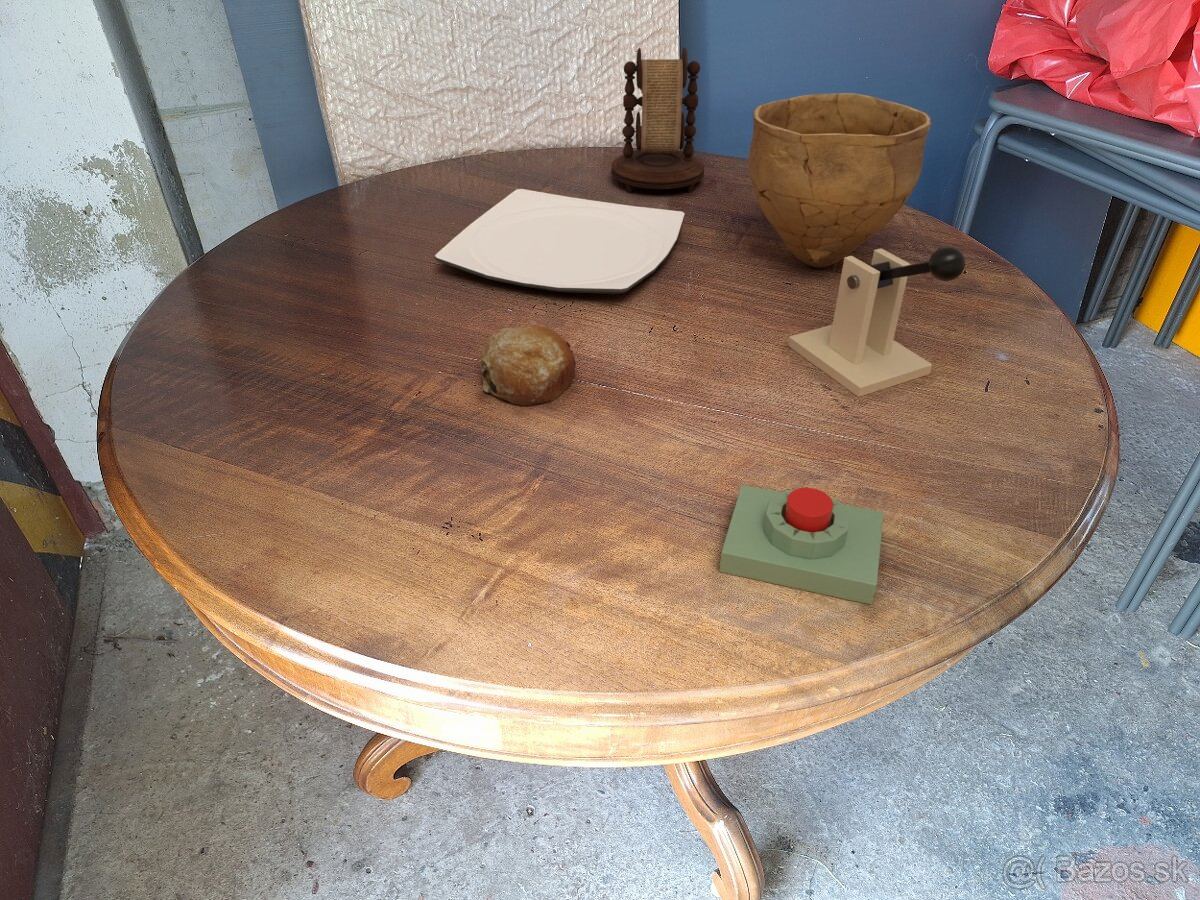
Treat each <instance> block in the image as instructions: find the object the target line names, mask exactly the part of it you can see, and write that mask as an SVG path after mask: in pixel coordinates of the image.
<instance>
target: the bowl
mask: <svg viewBox="0 0 1200 900" xmlns="http://www.w3.org/2000/svg"><path fill="white" fill-rule="evenodd" d="M752 113H753V116H752V122H753V131H752V138H751V142H750V146H749V150H748V158H747V165H748V171H749V172H748V173H749V176H750V181H751V185H752V187H753V191H754V193H755V196H756V199H757V202H758V204H759V206H760V208H761V211H762V213H763V214H764V217H765V218H766V219H767V221H768V223H769V224H770V225H771V226H772V227H773V229H774V230H775V231H776V233H777V234H778V236H779V237H780V239H781V241H782V242H783V244H784V246H785V247H786V248H787V249H788V250H789V252H790V253H792V255H793V256H794V257H795V258H796V259H798V260H799V261H800V262H801V263H803V264H804V265H807V266H810V267H812V268H820V269H822V268H826V267H829V266H832V265H834V264H836V263H838V262H840V261H842V260H844V258H845V257H848V256H849V255H850V254H851V253H853V252H854V251H855V250H856V249H857V248H859V247H860V246H861V244H863V243H865V242H866V241H867V240H868V239H870V238H871V237H873V236H874V235H875V234H876V233H877V232H878V231H880V230H882V229H883V228H885V226H886V225H888V223H889V222H890V221H892V219H893V218H894V217H895V216H896V215H897V213H898V212H899V211H900V210H901V209H902V208H903V206H904V204H905V203H906V202H907V200H908V199H909V198H910V197H911V195H912V193H913V192H914V190H915V188H916V186H917V184H918V181H919V179H920V178H921V177H920V176H921V174H922V170H923V164H924V152H925V148H926V147H925V146H926V142H927V137H928V133H929V131H930V129H931V126H932V121H931V120H932V118H931V117H930V116H929V115H928V114H927V113H926V112H924V111H922V110H920V109H917V108H914V107H912V106H909V105H905V104H902V103H898V102H894V101H890V100H886V99H882V98H878V97H875V96H871V95H868V94H867V95H865V94H860V93H853V92H852V93H851V92H840V93H836V92H835V93H834V92H833V93H817V94H816V93H813V94H805V95H804V94H803V95H798V96H794V97H790V98H786V99H780V100H774V101H770V102H767V103H763V104H760V105H759V106H757V107H755V108H754V110H753V112H752Z"/></svg>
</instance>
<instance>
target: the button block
mask: <svg viewBox="0 0 1200 900" xmlns="http://www.w3.org/2000/svg"><path fill="white" fill-rule="evenodd" d="M796 489H797V488H794V489H788V490H783V491H778V490H777V491H776V490H772V489H766V488H761V487H756V486H750V485H745V484H741V486H740V489H739V492H738V495H737V497H736V498H737V499H736V501H735V505H734V509H733V511H732V515H731V518H730V521H729V524H728V529H727V532H726V536H725V539H724V541H723V545H722V549H721V552H720V561H719V570H718V571H719V572H720V573H723V574H727V575H733V576H737V577H741V578H746V579H750V580H755V581H759V582H765V583H769V584H773V585H778V586H783V587H788V588H793V589H797V590H800V591H801V590H802V591H807V592H811V593H814V594H815V593H816V594H820V595H825V596H829V597H834V598H838V599H842V600H848V601H852V602H856V603H861V604H867V605H870V606H871V605H872V604H873V602H874V598H875V595H876V591H877V587H878V579H879V570H880V569H879V568H880V567H879V566H880V556H881V544H882V535H883V523H884V514H885V513H884V511H881V510H877V509H876V510H875V509H870V508H866V507H860V506H855V505H850V504H845V503H842V502H840V501H839V500H837V499H836V498H834V497H832V496H830V495H828V496H829V497H830V498H831V499H832V501H833V510H832V515H831V520H830V524H829V526H828V527H827V528H826V529H825V530H823V531H820V532H813V533H811V532H806V531H801V530H797V529H796V528H794V527H792V526H791V525H789V524H788V523H787V521H786V519H785V509H786V503H787V498H788V495H789V494H790V493H791V492H792V491H794V490H796Z"/></svg>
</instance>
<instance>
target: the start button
mask: <svg viewBox="0 0 1200 900" xmlns="http://www.w3.org/2000/svg"><path fill="white" fill-rule="evenodd" d="M795 489H796V490H794V489H793V490H794V491H792V492H791V493H790V494H789V495H788V498H787V503H786V509H785V519H786V521H787V523H788V524H789V525H791V526H792V527H794V528H796V529H797V530H801V531H806V532H811V533H813V532H820V531H823V530H825V529H826V528H827V527H828V526H829V524H830V520H831V515H832V510H833V501H832V499H831V498H830V497H831V496H830V495H828V493H826V492H825V491H823V490H820V489H817V488H813V487H799V488H795ZM829 496H830V497H829Z"/></svg>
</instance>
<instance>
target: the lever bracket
mask: <svg viewBox="0 0 1200 900" xmlns="http://www.w3.org/2000/svg"><path fill="white" fill-rule="evenodd" d="M883 262H889V263H890V268H895V267H901V266H906V265H911V263H909V262H908V261H906V260H904V259H903V258H901V257H899V256H897V255H894V254H893V253H891V252H889V251H887V250H885V249H884V248H882V247H881V248H877V249H874V250H873V255H872V259H871V263H870V265H873V264H878V263H883ZM879 276H880V271H878V270H876V269H874V268H872V267H871V266H869V264H867V263H865V262H864V261H862V260H860V259H859V258H856V257H855V256H853V255H847V256H846V257H844V258H843V265H842V269H841V274H840V280H839V285H838V292H837V298H836V302H835V309H834V313H833V320H832V324H829V325H825V326H822V327H818V328H815V329H811V330H807V331H804V332H801V333H796V334H793V335H790V336H788V342H787V347H789V348H790V349H792V350H793V351H794V352H795V353H797V354H798V355H799V356H800V357H802V358H804V359H805V360H806V361H808V362H810V363H811V364H812V365H814V366H815V367H816V368H817V369H819V370H820V371H822V372H823V373H824V374H826V375H827V376H829V377H830V378H831V379H832V380H834V381H835V382H836V383H838V384H839V385H841V386H842V387H844V388H845V389H846V390H848V391H849V392H850V393H852V394H853V395H855V396H856V397H857V398H860V397H863V396H866V395H869V394H872V393H876V392H879V391H882V390H884V389H888V388H891V387H894V386H897V385H900V384H904V383H906V382H910V381H913V380H916V379H919V378H922V377H925V376H928V375H931V372H932V369H933V364H932V363H931V362H929V361H928V360H926V359H925V358H923V357H921V356H920V355H918V354H917V353H915V352H913V351H912V350H910V349H909V348H907V347H905V346H904V345H902V344H901V343H899V342H898V341H896V340H894V339H895V334H896V330H897V326H898V321H899V317H900V313H901V308H902V303H903V300H904V296H905V291H906V286H907V281H908V277H909V276H906V277H900V278H894V279H892V280H893V285H889V286H885V287H882V288H878V289H877V286H878V281H879Z"/></svg>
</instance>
